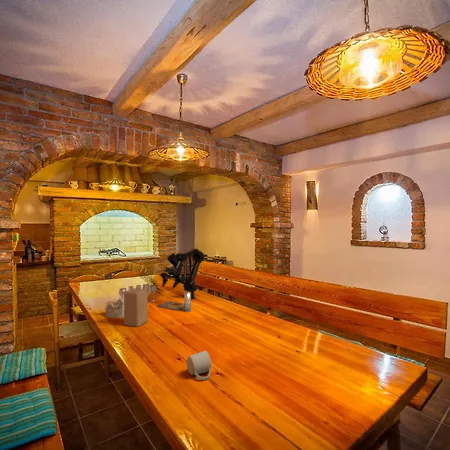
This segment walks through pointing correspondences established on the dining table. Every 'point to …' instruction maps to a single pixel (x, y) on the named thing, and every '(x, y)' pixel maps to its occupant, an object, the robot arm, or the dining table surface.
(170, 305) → the dark grey flat slab
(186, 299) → the shiny metal cylinder
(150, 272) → the dried plant
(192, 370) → the ceramic mug
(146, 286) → the goblet set
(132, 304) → the wooden block
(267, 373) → the dining table surface
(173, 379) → the dining table surface
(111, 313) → the ceramic cottage
